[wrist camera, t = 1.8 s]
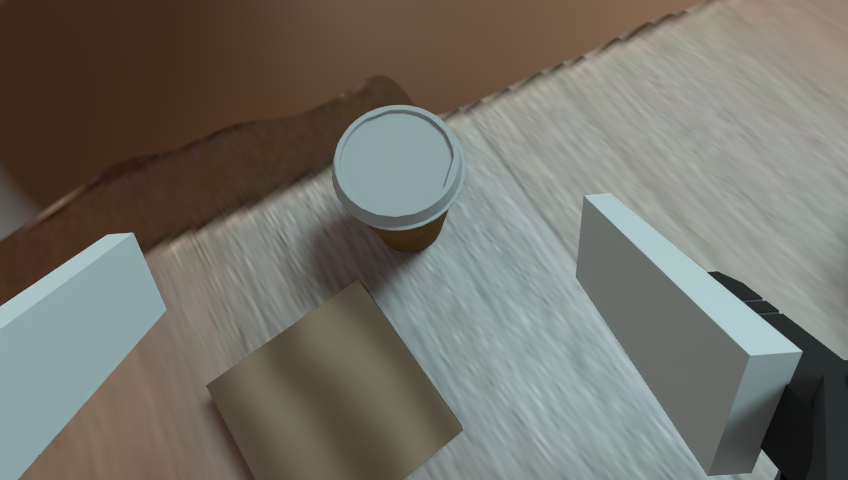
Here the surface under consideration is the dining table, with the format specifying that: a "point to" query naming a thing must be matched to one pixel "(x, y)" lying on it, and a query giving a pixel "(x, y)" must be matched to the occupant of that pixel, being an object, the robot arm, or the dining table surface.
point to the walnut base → (334, 399)
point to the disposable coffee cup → (399, 174)
